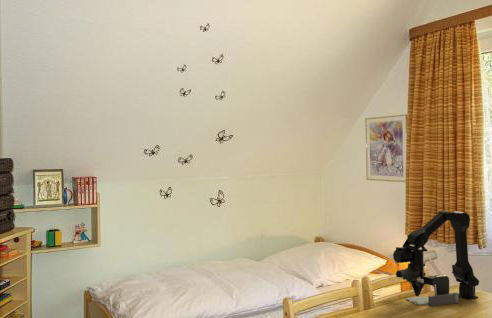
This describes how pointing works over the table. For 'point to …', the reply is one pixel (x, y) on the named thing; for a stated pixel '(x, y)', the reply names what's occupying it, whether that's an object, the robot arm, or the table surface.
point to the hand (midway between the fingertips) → (417, 296)
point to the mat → (419, 300)
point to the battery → (442, 285)
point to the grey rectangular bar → (443, 299)
